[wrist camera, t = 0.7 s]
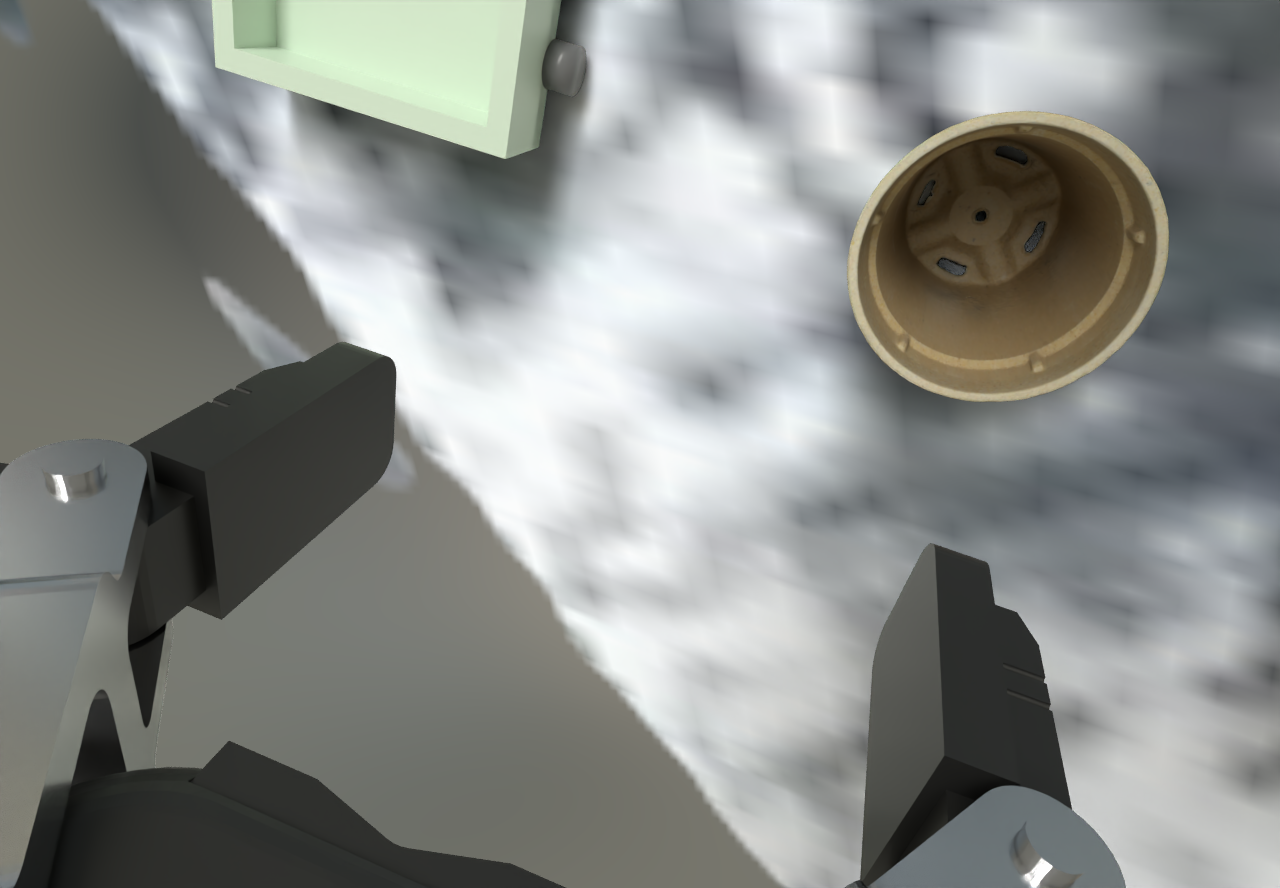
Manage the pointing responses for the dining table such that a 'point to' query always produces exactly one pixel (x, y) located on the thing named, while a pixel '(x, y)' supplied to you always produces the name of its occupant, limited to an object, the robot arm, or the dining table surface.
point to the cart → (411, 61)
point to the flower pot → (1008, 257)
